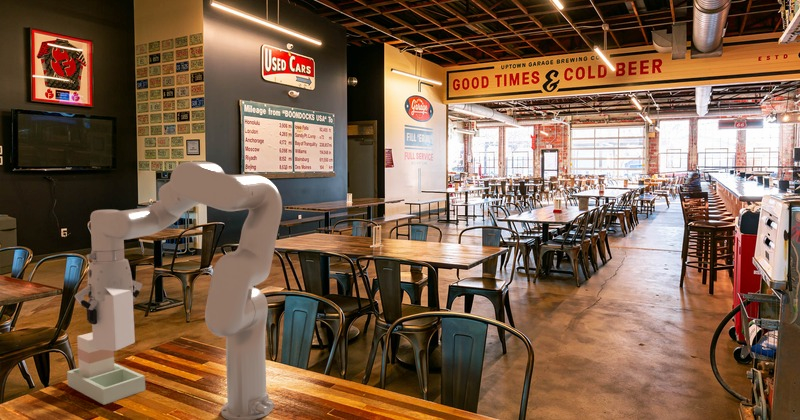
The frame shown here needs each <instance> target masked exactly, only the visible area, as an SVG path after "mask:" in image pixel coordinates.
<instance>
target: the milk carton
mask: <svg viewBox="0 0 800 420" xmlns="http://www.w3.org/2000/svg"><path fill="white" fill-rule="evenodd" d="M105 288H106V289H107V291H108V292H109V294H106V295H105V300H104V301H99V302H98V303H97V305H96V306H95V307H94V309H96V311H97V324H95V325H93V324H91V328H92V329H91V331H92V332H91V333H93V349H99V350H110V351H114V352H117V351H119V350H121V349H123V348H126V347H128V346H130V345H133V344H135V343H136V341H135V339H136V338H135V321H134V320H135V319H134V318H135V317H134V316H135V315H134V312H133V302H134V301H133V293H131V290H124V289H116V288H107V287H105ZM91 296H92V293H91ZM92 297H93V296H92Z"/></svg>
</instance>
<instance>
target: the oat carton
mask: <svg viewBox="0 0 800 420" xmlns="http://www.w3.org/2000/svg"><path fill="white" fill-rule="evenodd" d="M76 337H77V338H76V341H77V343H76V344H77V359H78V368H79V375H81V376H83V377H85V378H87V379H88V378H91V377H94V376H97V375H101V374H104V373H107V372H111V371H114V370H115V368H114V363H115V351H110V350H99V349H93V333H92V332H89V333H85V334H80V335H76Z"/></svg>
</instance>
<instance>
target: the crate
mask: <svg viewBox="0 0 800 420" xmlns="http://www.w3.org/2000/svg"><path fill="white" fill-rule="evenodd" d="M114 368H115V370H114V371H111V372H107V373H104V374H101V375H97V376H94V377H91V378H88V379H87V378H85V377H83V376H81V375H79V367H78V368H73V369H71V370H67V371H66V372H67V373H66V374H67V375H66V376H67V379H66V380H67V386H68V387H69V388H72V389H73V390H76V391H77V392H79V393H81V394H83V395H84V396H87V397H89V398H90V399H92V400H94V401H96V402H98V403H99V404H102V405H103V406H104V405H107V404H111V403H114V402H116V401H119V400H122V399H125V398H128V397H131V396H134V395H136V394H139V393H141V392H142V393H143V392H145V391H146V376H145V375H143V374H141V373H139V372H136V371H134V370H132V369H129V368H127V367H126V366H123V365H120V364H119V363H115V362H114Z"/></svg>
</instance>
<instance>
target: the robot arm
mask: <svg viewBox="0 0 800 420" xmlns="http://www.w3.org/2000/svg"><path fill="white" fill-rule="evenodd" d="M158 199H159V200H158V201H156V202H154V203H153V204H151V205H148V206H147V207H143V208H134V209H133V208H132V209H125V210H119V209H97V210H94V211H92V212H91V214H90V218H89V219H90V234H91V237H90V238H91V252H90V253H88V254H86V259H87V260H91V262H90V263H89V267H88V271H87V286H85V287H84V288H82V289H81V290H80V291H78V292H77V293H75V295H74V298H75V299H76V301H77V302H78V304H79V305H80V306H82V307H83V308H84V309H86V320H87V322H88V324H91V325H92V324H93V325H95V324H97V311H96V309H94V307H95V306H96V305H97V303H98V302H99V301H104V300H105V295H106V294H109V292H108V291H107V289H106V288H105V287H107V288H116V289H124V290H131V293H133V313H134V312H135V311H134V310H135V307H134V303H135V301H136V298H137V297H138V296H139V294H140V291H141V289H142V287H143V283H141V282H139V281H137V280H135V279H133V277H132V271H131V267H130V262H129V260H128V259H127V258H125V244H124V243H125V241H124V240H132V239H136V238H142V237H146V236H152V235H154V234H157V233H159V232H161V231H163V230H164V229H166V228H168V227H169V226H172V225H173V224H174V223H176V222H177V221H178V220H180V218H181V217H182V216H183V214H184V213H186V212H188V211H189V210H191V209H192V208H194V207H196V206H198V205H200V204H201V205H204V206H206V207H211V208H214V209H216V210H220V211H223V212H224V211H225V212H236V211H244V210H248V215H247V217H246V218H245V220H244V223H243V225H242V228H241V233H240V239H239V243H238V246H237V248H236V250H235V251H234V250H233V251H231V252H228V253H226V254H224V255H223V256H221V257H220V258H219V259H218V260H217V262H216V263H215V265H214V267H213V270H212V273H211V277H210V282H209V286H208V287H209V288H208V293H207V298H206V299H207V300H206V303H205V304H206V305H205V310H204V320H205V323H206V326H207V329H208V330H209V331H210V332H211V333H212V334H213V335H214V336H217V337H219V338H226V340H225V359H226V360H225V362H226V365H225V366H226V391H227V394H226V395H227V399H226V400H227V402H226V403H224V404H223V405H222V407H221V411H220V413H221V416H222V418H223V419H225V420H258V419H261V418H263V417H265V416H268V415H270V413H271V412H272V410H273V409H274V408H275V404H274V402H273V400H272V399H270V398H269V397H270V396H269V395H270V394H269V393H267V373H266V372H267V371H266V370H267V369H266V368H267V365H266V364H267V363H266V359H267V358H266V330H267V329H266V326H267V318H268V313H269V312H268V311H269V309H268V308H269V306H268V299H267V298H266V296H265V294H264V293H263V292H262V290H260V289H259V288H257V287H255V286H258V285H259V284H261V283H263V282H264V281H266V280H267V279H268V278H269V275H270V272H271V268H272V263H273V259H274V255H275V254H274V252H275V248H276V245H277V244H276V243H277V237H278V232H279V228H280V227H279V226H280V225H281V224H280V223H281V219H282V214H283V202H282V201H283V200H282V196H281V194H280V192H279V190H278V188H277V186H276V185H275V184H274V183H273V182H272V181H271V180H270V179H268V178H267V177H264V176H262V175H259V174H254V173H251V174H250V173H245V174H244V173H243V174H242V173H241V174H227V173H225V171H224V170H223V168H222V167H221V166H220V165H219V164H217V163H214V162H210V161H185V162H182V163H180V164H179V165H177V166H176V167H175V168H174V169H173V170H172V172H171V174H170V179H169V181H167V182H166V183H164V184H163V185H161V187H160V188H159V190H158ZM91 293H92V296H93V297H92V296H91ZM86 295H87V297H88V299H87V300H85V296H86Z"/></svg>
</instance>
